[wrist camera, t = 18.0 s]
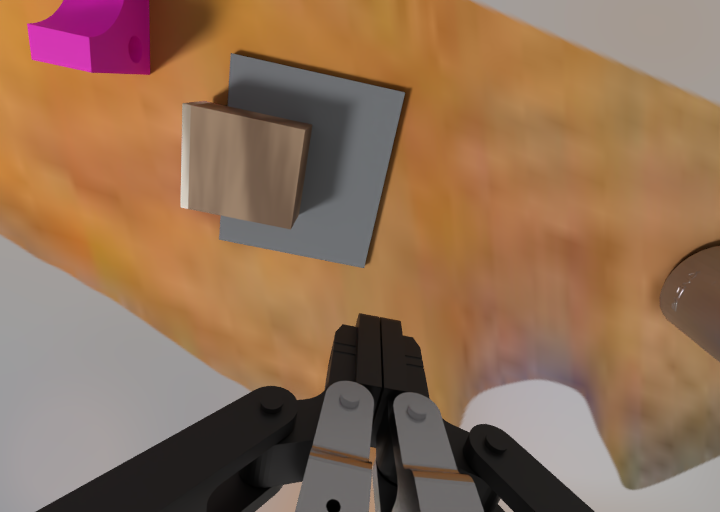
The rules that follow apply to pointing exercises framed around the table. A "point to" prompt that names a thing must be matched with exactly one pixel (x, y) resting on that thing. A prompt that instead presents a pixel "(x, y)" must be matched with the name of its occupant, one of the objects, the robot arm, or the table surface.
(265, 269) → the table surface
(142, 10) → the toy block
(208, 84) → the table surface
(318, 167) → the mat
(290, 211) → the slab
